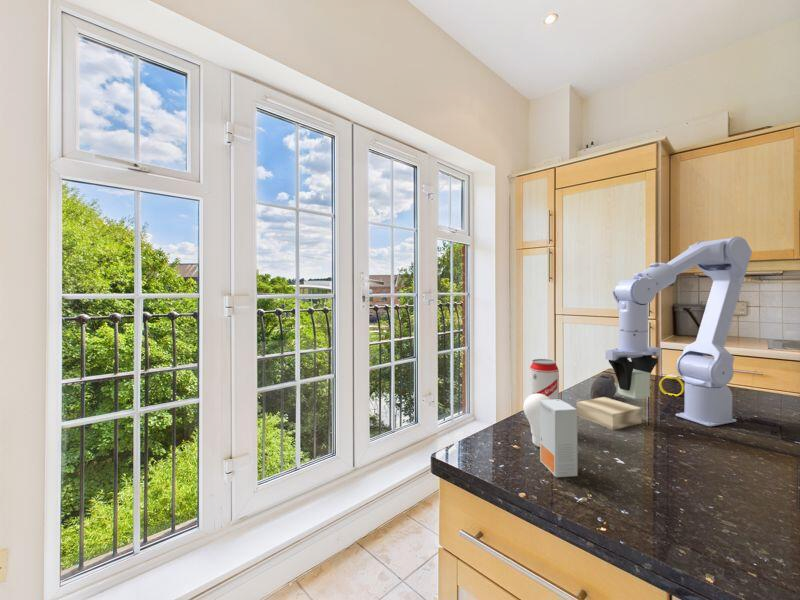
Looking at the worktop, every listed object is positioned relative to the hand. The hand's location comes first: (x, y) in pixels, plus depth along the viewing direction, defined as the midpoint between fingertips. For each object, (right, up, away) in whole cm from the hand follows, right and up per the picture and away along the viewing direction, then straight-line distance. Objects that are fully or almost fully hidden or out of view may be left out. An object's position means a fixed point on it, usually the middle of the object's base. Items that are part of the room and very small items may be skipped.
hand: (632, 388), depth 86 cm
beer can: (-21, -10, -1) cm, 23 cm away
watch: (+27, -8, +24) cm, 37 cm away
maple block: (-3, -9, +5) cm, 11 cm away
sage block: (0, -2, 0) cm, 2 cm away
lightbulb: (-26, -10, -10) cm, 29 cm away
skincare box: (-26, -10, -19) cm, 34 cm away
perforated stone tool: (+3, -9, +19) cm, 21 cm away
